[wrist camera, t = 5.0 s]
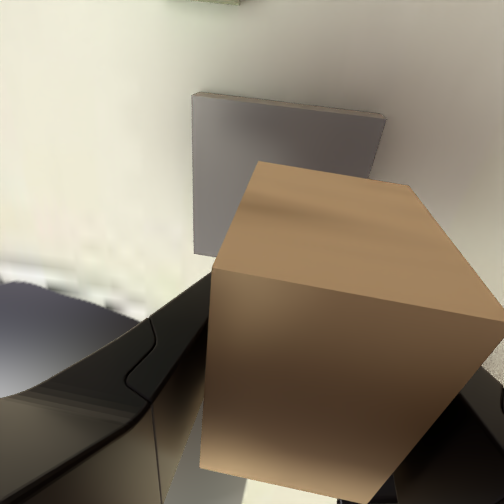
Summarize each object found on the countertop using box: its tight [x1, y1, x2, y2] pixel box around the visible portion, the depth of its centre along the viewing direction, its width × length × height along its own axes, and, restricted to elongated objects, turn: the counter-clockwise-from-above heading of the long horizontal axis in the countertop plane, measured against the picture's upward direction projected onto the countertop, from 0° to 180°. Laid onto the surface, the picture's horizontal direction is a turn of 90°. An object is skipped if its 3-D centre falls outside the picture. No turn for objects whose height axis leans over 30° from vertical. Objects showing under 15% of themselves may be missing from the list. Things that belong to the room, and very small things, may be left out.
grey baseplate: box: [192, 92, 386, 257], centre depth 19 cm, size 10×10×2 cm
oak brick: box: [200, 161, 504, 504], centre depth 8 cm, size 6×4×5 cm, turn 173°
